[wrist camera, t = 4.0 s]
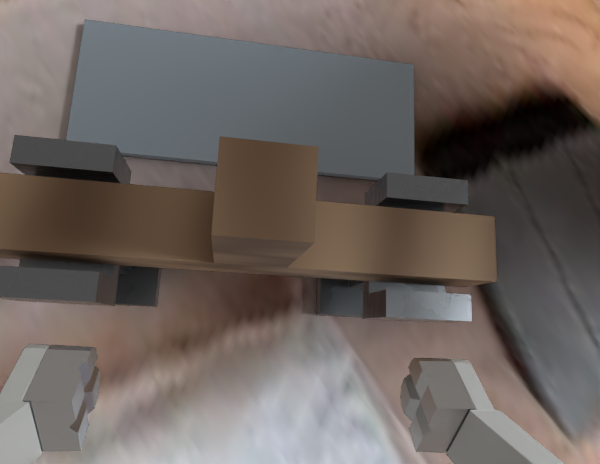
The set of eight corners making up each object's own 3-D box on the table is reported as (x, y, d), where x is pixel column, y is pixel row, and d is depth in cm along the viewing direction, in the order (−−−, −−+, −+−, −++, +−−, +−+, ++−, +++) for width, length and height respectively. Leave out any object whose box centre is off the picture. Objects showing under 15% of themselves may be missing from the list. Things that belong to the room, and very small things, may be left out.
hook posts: (404, 227, 33) (487, 182, 23) (404, 323, 31) (492, 322, 21) (68, 199, 29) (-12, 132, 19) (52, 306, 28) (-44, 294, 18)
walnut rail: (462, 229, 25) (594, 175, 16) (463, 287, 24) (602, 264, 15) (7, 191, 21) (-141, 97, 13) (-5, 257, 21) (-169, 206, 12)
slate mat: (410, 68, 35) (413, 64, 35) (411, 183, 33) (414, 181, 33) (87, 24, 32) (84, 19, 31) (67, 150, 30) (64, 146, 29)
